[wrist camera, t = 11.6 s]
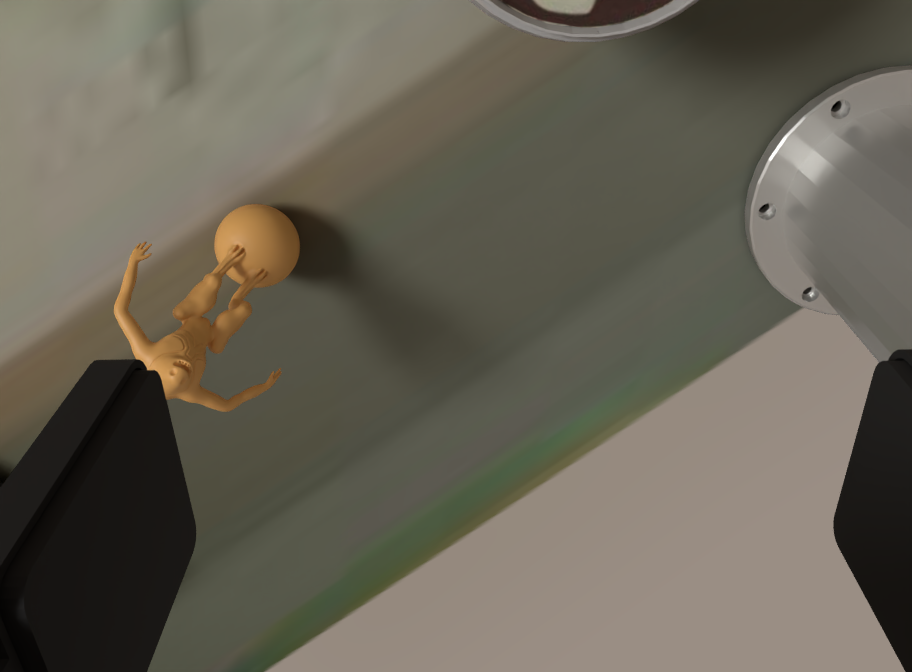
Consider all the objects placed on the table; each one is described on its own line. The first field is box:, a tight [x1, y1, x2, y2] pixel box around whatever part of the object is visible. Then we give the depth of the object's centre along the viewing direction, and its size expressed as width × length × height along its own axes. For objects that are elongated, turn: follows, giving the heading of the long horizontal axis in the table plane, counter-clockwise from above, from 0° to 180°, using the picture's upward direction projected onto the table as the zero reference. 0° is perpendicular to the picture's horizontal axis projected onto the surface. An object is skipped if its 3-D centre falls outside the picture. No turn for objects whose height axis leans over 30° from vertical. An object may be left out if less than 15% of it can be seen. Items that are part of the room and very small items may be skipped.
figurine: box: [114, 204, 300, 412], centre depth 37 cm, size 8×6×12 cm
